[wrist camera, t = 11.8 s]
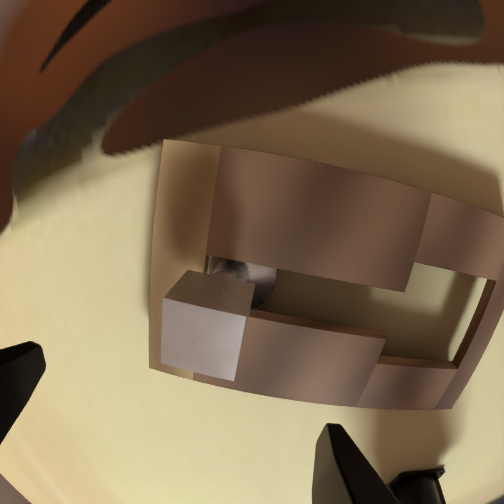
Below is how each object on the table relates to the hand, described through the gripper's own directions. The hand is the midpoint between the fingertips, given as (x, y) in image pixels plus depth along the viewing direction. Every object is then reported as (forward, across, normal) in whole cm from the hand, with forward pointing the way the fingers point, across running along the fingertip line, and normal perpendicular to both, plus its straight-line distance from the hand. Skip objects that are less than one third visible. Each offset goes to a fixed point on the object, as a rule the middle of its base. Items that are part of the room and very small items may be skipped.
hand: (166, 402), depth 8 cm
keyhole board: (+12, -7, 0) cm, 14 cm away
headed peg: (+12, 0, 0) cm, 12 cm away
